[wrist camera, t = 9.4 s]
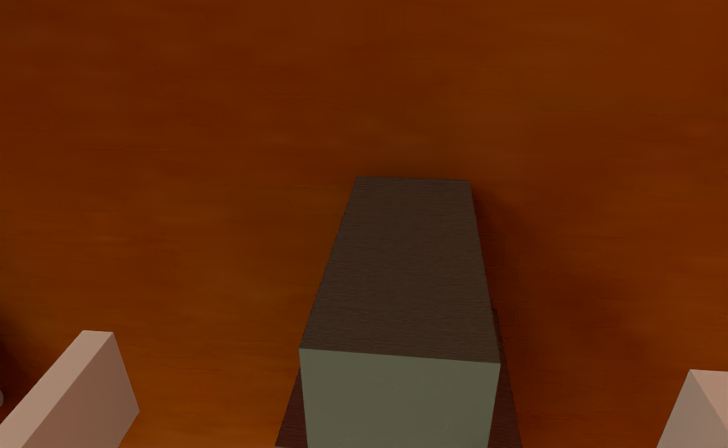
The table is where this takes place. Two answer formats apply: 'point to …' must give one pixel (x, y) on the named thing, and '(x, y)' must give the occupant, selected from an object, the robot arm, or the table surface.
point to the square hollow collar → (503, 425)
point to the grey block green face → (402, 323)
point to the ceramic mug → (1, 398)
